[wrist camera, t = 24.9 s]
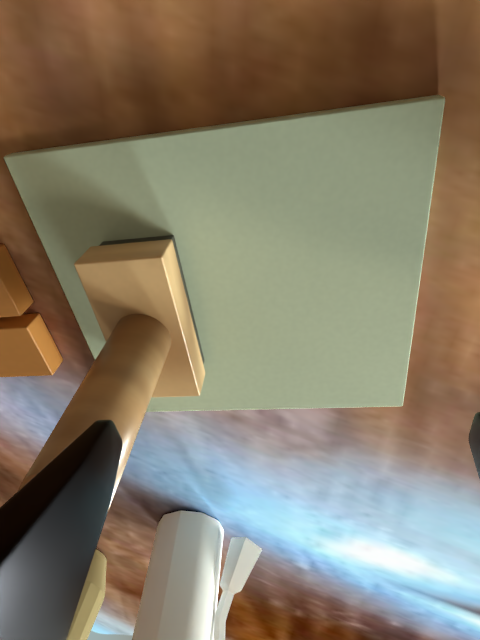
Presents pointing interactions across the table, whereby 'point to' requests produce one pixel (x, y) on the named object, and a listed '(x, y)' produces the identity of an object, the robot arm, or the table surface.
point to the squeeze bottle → (89, 599)
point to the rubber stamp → (131, 342)
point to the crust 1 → (12, 287)
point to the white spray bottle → (191, 579)
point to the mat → (263, 243)
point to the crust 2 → (27, 347)
